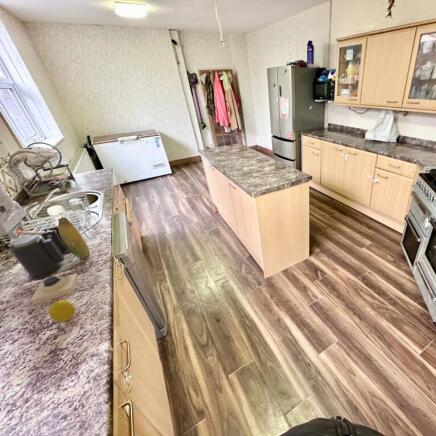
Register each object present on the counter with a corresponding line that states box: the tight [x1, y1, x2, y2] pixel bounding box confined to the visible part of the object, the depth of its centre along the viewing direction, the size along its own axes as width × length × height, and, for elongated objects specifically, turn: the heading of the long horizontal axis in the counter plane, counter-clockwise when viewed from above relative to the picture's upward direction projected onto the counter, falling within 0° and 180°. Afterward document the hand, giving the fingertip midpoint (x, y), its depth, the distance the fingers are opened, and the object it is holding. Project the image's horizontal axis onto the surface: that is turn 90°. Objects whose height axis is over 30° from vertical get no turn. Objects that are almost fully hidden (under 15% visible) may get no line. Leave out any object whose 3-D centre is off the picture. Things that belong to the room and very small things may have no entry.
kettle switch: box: [14, 229, 56, 236], centre depth 100 cm, size 12×5×2 cm, turn 119°
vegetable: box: [57, 216, 90, 259], centre depth 98 cm, size 6×6×20 cm
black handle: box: [40, 225, 72, 256], centre depth 105 cm, size 12×9×12 cm
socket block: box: [30, 272, 80, 306], centre depth 85 cm, size 11×9×4 cm
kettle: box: [8, 235, 65, 282], centre depth 92 cm, size 12×10×16 cm
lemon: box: [48, 299, 76, 323], centre depth 72 cm, size 6×6×8 cm
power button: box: [42, 275, 59, 287], centre depth 84 cm, size 4×4×2 cm
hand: (19, 234), depth 98 cm, fingers closed on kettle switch, 5 cm apart
